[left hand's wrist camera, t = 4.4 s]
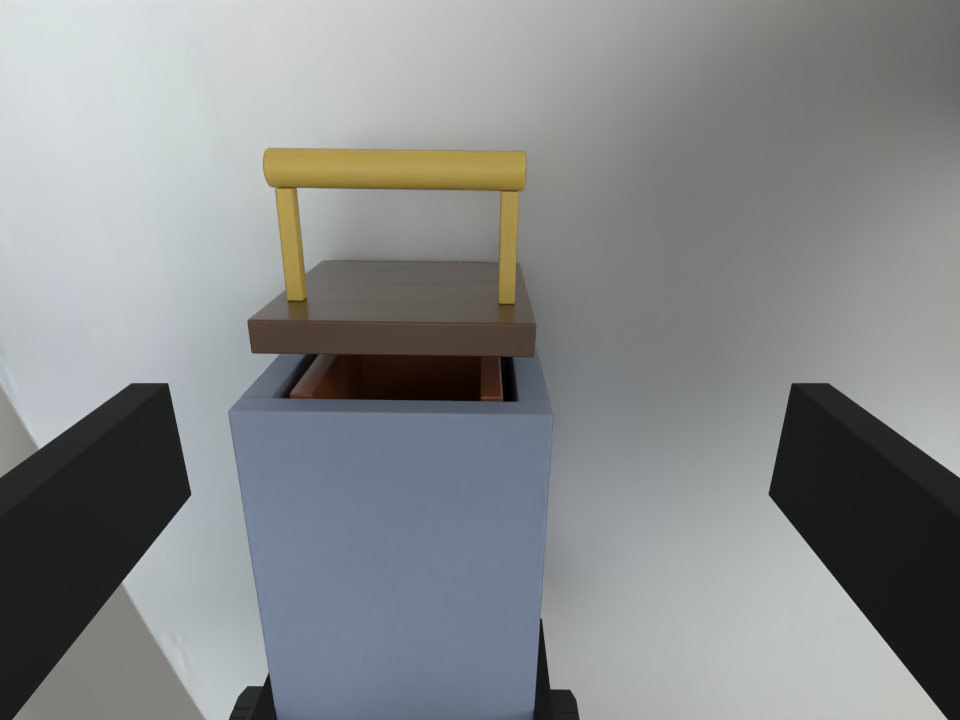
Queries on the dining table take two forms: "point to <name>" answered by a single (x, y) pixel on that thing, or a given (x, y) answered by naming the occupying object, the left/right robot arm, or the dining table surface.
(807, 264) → the dining table surface
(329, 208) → the dining table surface
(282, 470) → the cabinet
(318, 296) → the drawer
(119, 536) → the left robot arm
